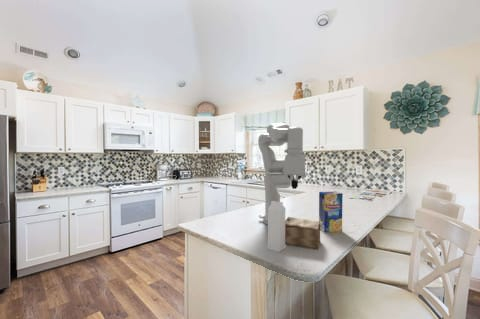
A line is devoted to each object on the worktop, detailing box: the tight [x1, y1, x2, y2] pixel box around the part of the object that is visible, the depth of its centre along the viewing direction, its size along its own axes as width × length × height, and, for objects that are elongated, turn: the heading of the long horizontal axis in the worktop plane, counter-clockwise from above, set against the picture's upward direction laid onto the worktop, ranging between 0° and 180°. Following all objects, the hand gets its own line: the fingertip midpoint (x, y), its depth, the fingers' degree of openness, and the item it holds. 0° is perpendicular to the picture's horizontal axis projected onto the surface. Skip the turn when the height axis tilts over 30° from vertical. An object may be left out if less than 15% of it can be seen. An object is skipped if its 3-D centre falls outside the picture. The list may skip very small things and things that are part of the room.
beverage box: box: [318, 191, 343, 233], centre depth 134 cm, size 7×11×22 cm, turn 99°
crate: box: [285, 224, 321, 251], centre depth 113 cm, size 16×12×9 cm
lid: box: [285, 216, 320, 231], centre depth 113 cm, size 16×12×2 cm
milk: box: [267, 201, 286, 253], centre depth 106 cm, size 6×6×22 cm
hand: (294, 188), depth 115 cm, fingers closed
